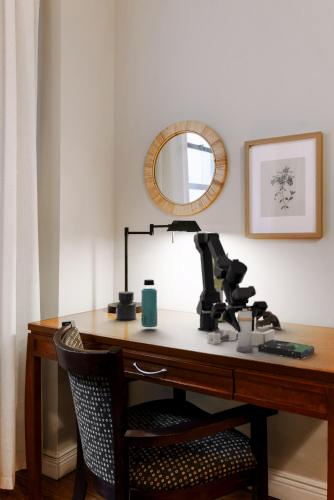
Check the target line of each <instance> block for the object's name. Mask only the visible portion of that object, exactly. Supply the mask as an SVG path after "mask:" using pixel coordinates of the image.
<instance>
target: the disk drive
mask: <svg viewBox="0 0 334 500" xmlns="http://www.w3.org/2000/svg"><path fill="white" fill-rule="evenodd" d="M257 352H258V353H259V352H260V353H264V354H270V355H274V354H275V355H276V356H280V355H282V356H281V357H285V356H287V357H286V358H291V357H293V358H292V359H296V358H299V359H298V360H304V359H305V358H304V357H306V358H308V357H309V356H312V355H313V354H315V347H314V345H313V346H312V345H309V344H302V343H296V342H291V341H284V340H277V339H274V340H270V341H267V342H265V343H264V344H260V345H258V346H257ZM308 355H309V356H308ZM307 356H308V357H307ZM303 358H304V359H303Z"/></svg>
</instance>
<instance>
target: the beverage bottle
mask: <svg viewBox="0 0 334 500" xmlns="http://www.w3.org/2000/svg"><path fill="white" fill-rule="evenodd" d="M143 285H144V286H154V285H155V280H154V279H144V280H143ZM140 292H141V300H140V301H141V315H140V316H141V319H140V321H141V322H140V323H141V326H142V327H143V328H156V327H157V326H158V290H157V289H156V288H155V287H144V288H143V289H141V291H140Z"/></svg>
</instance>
